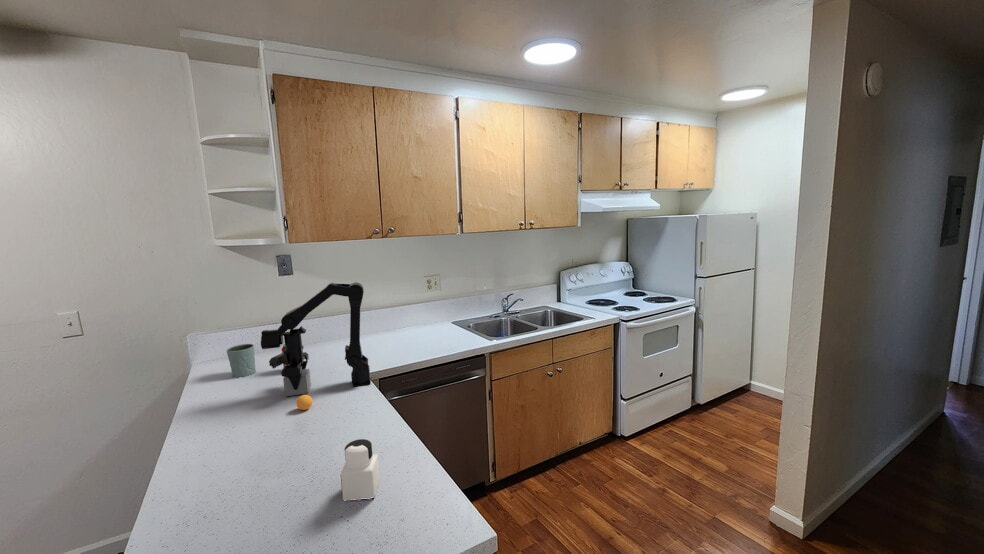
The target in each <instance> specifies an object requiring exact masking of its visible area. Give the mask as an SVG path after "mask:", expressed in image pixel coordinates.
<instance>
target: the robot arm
mask: <svg viewBox="0 0 984 554" xmlns="http://www.w3.org/2000/svg"><path fill="white" fill-rule="evenodd" d="M334 295H336V296H341V297H346V298H347V297H348V302H349V303H348V304H349V308H350V312H349V314H350V316H349V317H350V321H349V322H350V324H349V327H350V328H349V333H350V334H349V345H347V344H346V345H345V346H344V347H345V348H344V352H345V356H344V360H345V361H346V364H347V365H348V366H349V367H350V368H351V369H352V370H351V372H350V377H351V384H352V386H353V387H360V386H367V385H368V386H370V385H371V383H372V382H371V381H372V378H371V372H370V371H371V369H370V365H369V358H368V357H367V356H365V355H364V354H363V351H362V345H361V340H360V338H361V306H362V302H363V297H364V286H363V285H362V284H361V283H359V282H352V283H335V282H330V283H328V284H327V286H325V287H324V288H323V289H321V290H320V291H319V292H318V293H316V294H315V295H314V296H313V297H311V298H310V299H308V300H307V301H305V302H304V303H303V304H302V305H299V306H298V307H295V308H293V309H291V310H289V311H288V312H286V313H285V314H284V315H283V317H282V318H281V320H280V323H281V325H280V326H279V327H278V328H277V329H263V330H262V331H261V332H260V333H261V336H260V347H261V350H268V349H269V350H270V349H276V348H278V349H279V348H281V345H283V344H285V351H284V353H282V352H281V353H279V354H277V355H274V356H273V357H271V358H270V359H269V361H268V362H269V366H270V367H271V368H272V369H276V368H277V367H280V366H281V365H283V364H285V365H286V366H285V367H283V368H282V369H281V371H280V373H281V377H283V378H284V377H287V378H289V380H290V381H291V384H292V386H293V388H294V390H297V389H298V386H299V382H300V379H301V375H302V372H303V371H302V370H303V369H307V365H308V362H309V361H308V360H309V359H310V358H309V353H307V352H306V351H304V349H305V348H304V345H303V339H302V335H303V334H306V332H307V329H306V328H304V327H303V326H300V327H299V328H297V327H298V326H299V325H300V324H301V323H302V321H303V320H304V319H305V317H307V316H308V315H309V314H310V313H312V312H313V311H314V310H316V308H318V307H319V306H320V305H322V304H323V303H324V302H326V301H327V300H328V299H329V298H331V297H332V296H334ZM288 330H289V331H288ZM288 364H290V365H288Z"/></svg>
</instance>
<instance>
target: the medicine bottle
mask: <svg viewBox="0 0 984 554" xmlns="http://www.w3.org/2000/svg"><path fill="white" fill-rule="evenodd" d="M372 444H373V443H372V442H371V441H370V440H369V439H366V438H360V439H356V440H352V441H350V442H349V443H347V444H346V445H345V447H344V457H345V458H344V459H345V463H344V465H343V468H342V469H341V471H340V483H341V484H340V485H341V494H342V501H343V500H351V499H352V500H353V499H361V498H370V497H374V496H375V497H376V495H375V493H376V494H377V492H376V490H377V491H378V488H377V486H378V487H379V485H378V483H379V484H380V481H379V479H380V480H381V478H380V467H379V454H377V453H375V454H374V453H373V445H372Z"/></svg>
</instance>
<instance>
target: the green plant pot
mask: <svg viewBox="0 0 984 554" xmlns="http://www.w3.org/2000/svg"><path fill="white" fill-rule="evenodd" d="M226 355H227V358H228V362H229V367H230V369H231V370H230V371H231V375H232V377H233V378H234V377H242V378H246V376H247V377H250V376H253V375H254V374H256V372H257V371H256V359H255V345H254V344H253V343H242V344H236V345H233V346H231V347H228V348H226ZM252 374H253V375H252ZM249 375H250V376H249Z"/></svg>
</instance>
